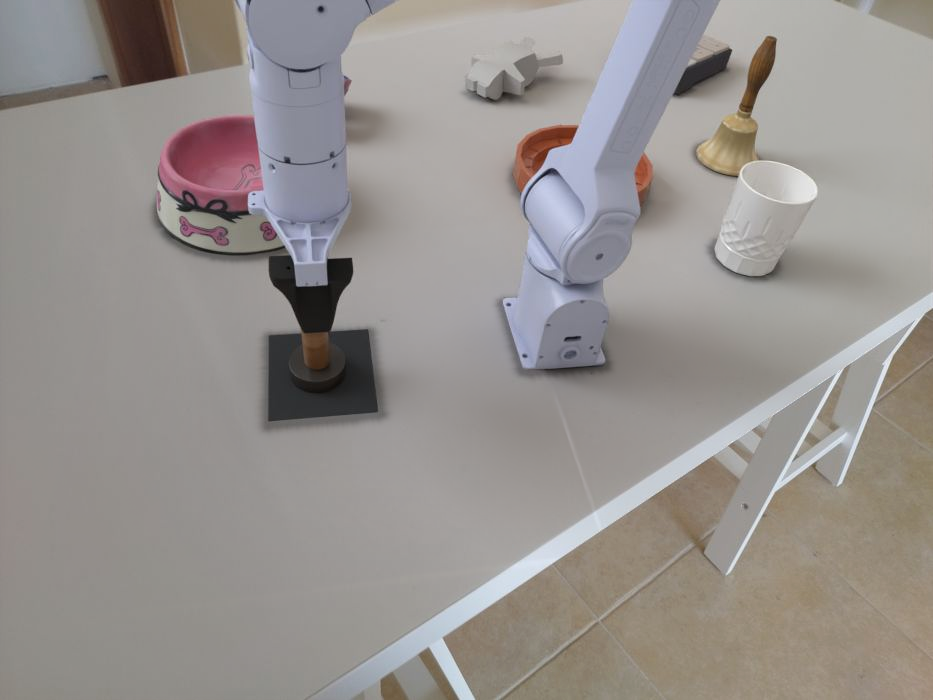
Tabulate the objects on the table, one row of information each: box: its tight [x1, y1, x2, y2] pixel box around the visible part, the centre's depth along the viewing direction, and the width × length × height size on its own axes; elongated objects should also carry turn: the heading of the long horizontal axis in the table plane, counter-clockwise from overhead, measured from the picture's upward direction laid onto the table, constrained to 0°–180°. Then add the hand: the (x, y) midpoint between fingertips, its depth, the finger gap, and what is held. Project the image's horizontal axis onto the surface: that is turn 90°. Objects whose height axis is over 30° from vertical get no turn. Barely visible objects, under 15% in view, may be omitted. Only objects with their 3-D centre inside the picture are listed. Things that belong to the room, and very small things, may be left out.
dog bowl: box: [156, 114, 286, 257], centre depth 79 cm, size 18×19×7 cm
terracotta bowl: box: [512, 124, 654, 208], centre depth 88 cm, size 16×16×4 cm
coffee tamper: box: [289, 328, 346, 393], centre depth 62 cm, size 5×5×7 cm
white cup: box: [713, 159, 819, 277], centre depth 79 cm, size 8×8×10 cm
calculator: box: [673, 34, 733, 95], centre depth 113 cm, size 11×4×15 cm
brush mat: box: [267, 328, 379, 422], centre depth 65 cm, size 10×9×1 cm
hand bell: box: [695, 35, 778, 177], centre depth 91 cm, size 8×8×16 cm
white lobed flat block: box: [464, 36, 564, 101], centre depth 105 cm, size 10×5×15 cm
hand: (314, 295), depth 58 cm, fingers open, 7 cm apart
